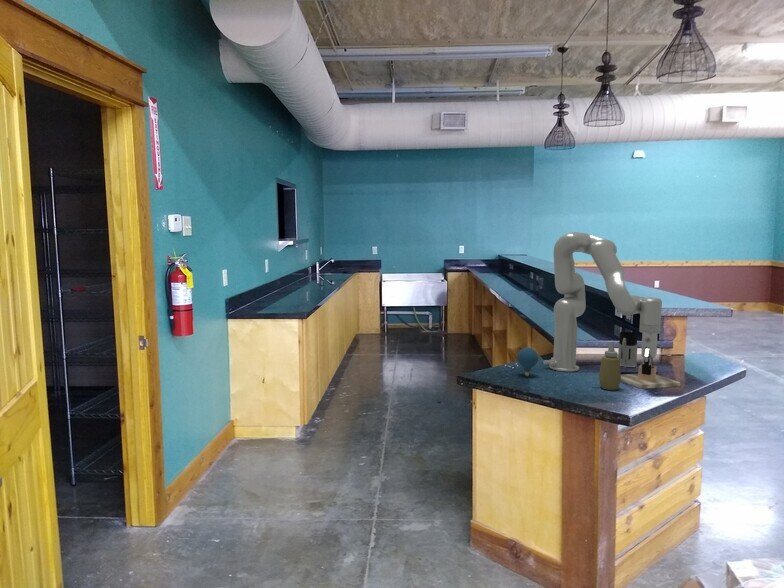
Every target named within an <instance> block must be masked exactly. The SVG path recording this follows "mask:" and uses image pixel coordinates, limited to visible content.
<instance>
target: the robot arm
mask: <svg viewBox="0 0 784 588" xmlns="http://www.w3.org/2000/svg"><path fill="white" fill-rule="evenodd" d="M617 249H618V248H617V245H616V244H615V242H614V241H612V240H609V239H606V238H603V237H600V236H597V235H592V234H589V233H587V232H576V231H574V232H573V231H572V232H568V233H565V234H563V235H562V236H560V237H559V238H558V239H557V240H556V242H555V243H554V246H553V264H554V265H553V266H554V271H553V272H554V286H555V291H557V292H558V294H561V295H563V297H562V298H560V299H558V300H557V301H556V302H555V304H554V306H553V317H554V318H553V320H554V330H553V331H554V337H553V339H554V341H553V357H551V359H544V360H542V363H543V365H549V369H551V370H553V371H559V372H570V373H571V372H577V371H580V366H579V365H577V344H578V343H577V342H578V341H577V340H578V322H577V318H578V317H580V316H582V315H583V314H584V312H585V311H586V309H587V308H586V307H587V305H586V300H587V299H586V287H585V285H586V284H585V280H584V278H583V276H582V275H580V273H577V272H576V268H575V266H576V265H575V260H574V256H573V255H574V253H583V254H586V255H590V256H591V258H592V260H593V261H594V263H595V265H596V267H597V268H598V270H599V272H600V274H601V276H602V278H603V280H604V285H605V287H606V292H607V294H608V296H609V298H610V301H611V302H612V304H613V306H614V307H615V309H616V311H618V313H619V314H620V315H623V316H628V317H629V316H631V315H636V314H639V315H640V316H639V317H640V318H639V328H638V329H639V330H638V331H639V333H642V336H641V357H642V374H645V375H651V359H652V366H654V361H653V359H655V358H656V357H657V353H658V334H661V324H662V323H661V322H662V309H663V301H662V299H661V298H660V297H659V298H658V297H648V296H647V297H644V296H639V295H631V294H630V292H629V291H628V288H627V286H626V284H625V269H624V267H623V265H622V263H621V262H620V260H619V259H618V256H617V251H618V250H617Z"/></svg>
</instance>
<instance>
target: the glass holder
mask: <svg viewBox="0 0 784 588" xmlns="http://www.w3.org/2000/svg"><path fill="white" fill-rule="evenodd" d="M617 352H618V356H617V357H618V358H619V359H620V366H624V367H623V368H626V367H635V366H637V367H638V364H637V360H638V333H637V332H634V331H633V332H632V331H621V332H620V331H619V340H618V351H617Z"/></svg>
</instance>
